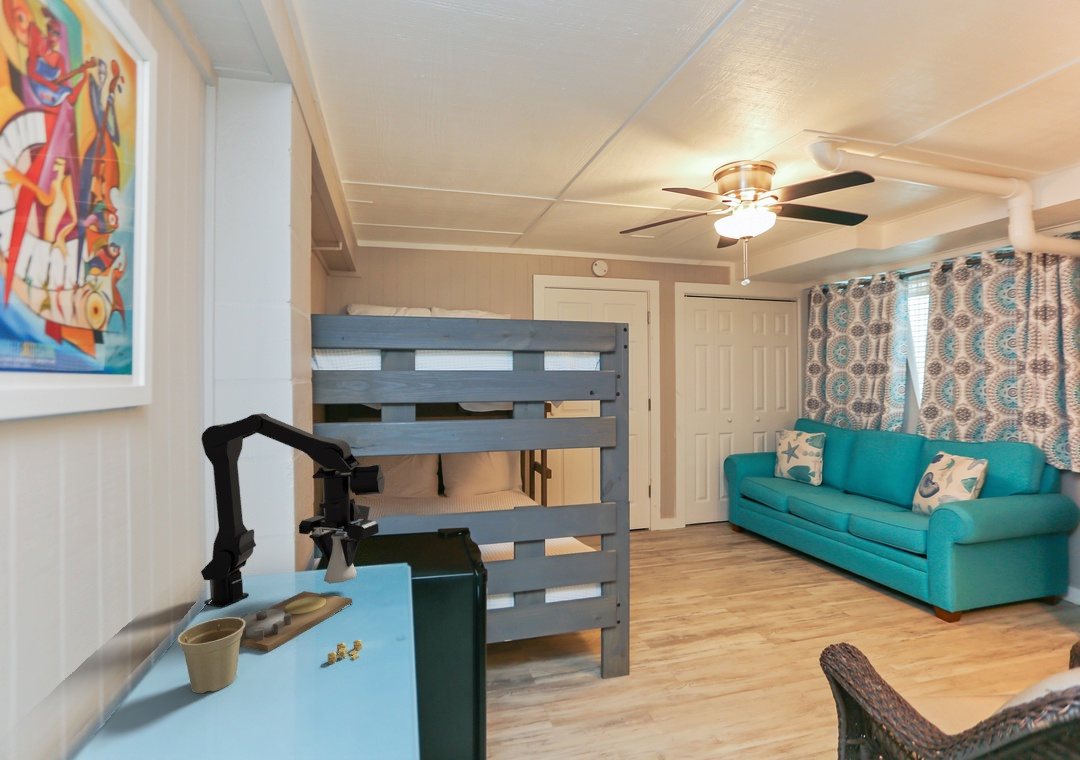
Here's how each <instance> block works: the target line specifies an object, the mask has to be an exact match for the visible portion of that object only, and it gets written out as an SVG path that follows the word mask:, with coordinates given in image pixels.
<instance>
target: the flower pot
mask: <svg viewBox="0 0 1080 760" xmlns="http://www.w3.org/2000/svg"><path fill="white" fill-rule="evenodd" d="M244 627H245V621H244V620H243V619H241V618H240V617H233V616H232V617H231V616H230V617H229V616H228V617H220V618H215V619H209V620H206V621H203V622H200V623H198V624H194V625H193V626H190V627H188V628H187V629H185V630H184V631H181V633H180V634H179V635H178V636H177V639H176V641H177V643H178V644H179V645H180V648H181V651H182V652H183V654H184V659H185V663H186V669H187V673H188V677H189V681H190V687H191V690H192V692H193V693H196V694H205V693H206V692H217V691H220V690H222V689H223V688H226V687H228V686H229V685H231V684H232V683H233V682H234V681H235V678H236V677H237V673H238V662H239V653H240V646H239V645H240V637H241V636H242V632H243V629H244Z"/></svg>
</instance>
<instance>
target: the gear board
mask: <svg viewBox="0 0 1080 760" xmlns="http://www.w3.org/2000/svg"><path fill="white" fill-rule="evenodd" d="M351 603H352V604H353V598H350V597H344V596H338V595H330V594H325V593H318V592H311V591H305V590H304V591H301V592H299V593H297V594H295V595H293V596H292V597H289V598H287V599H285V600H283V601H281V602H279V603H277V604H275V605H273V606H270V607H267V608H263V609H260V610H259V611H255V612H252V613H249V614H244V615H242V616H239V618H241V619H243V620H244V621H245V627H244V629H243V632H242V636H241V637H240V645H239V647H244V648H248V649H252V650H257V651H262V652H265V653H269V652H272V651H273V650H275V649H277V648H279V647H281V646H282V645H284V644H285V643H287V642H289V641H290V640H292V639H294V638H295V637H297V636H299V635H301V634H303V633H304V632H307V631H308V630H309V629H312V628H313V627H315V626H317V625H319V624H320V623H322V622H324V621H326V620H327V619H329V618H330V616H331V617H332V615H333V614H334V613H336V612H338V611H339V610H341V609H342V608H344V607H345V606H347V605H349V604H351ZM341 611H342V610H341ZM338 613H339V612H338ZM336 614H337V613H336ZM334 615H335V614H334ZM334 615H333V616H334Z"/></svg>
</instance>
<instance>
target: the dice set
mask: <svg viewBox="0 0 1080 760" xmlns="http://www.w3.org/2000/svg"><path fill="white" fill-rule="evenodd" d="M346 646H347V645H346V642H340V643H338V644H336V651H332V652H329V653H327V664H329V665H333V664H336V663H337V662H336V661H338V657H339V660H342V659H341V658H344V659H346V658H347V653H349V654H350V655H349V656H350V659H351V658H352V659H351V660H353V659H354V661H355V660H356V659H359V658H360V655H359V654H358V652H359V651H362V649H363V643H362V639H356V640H354V641H353V650H351V651H350V652H347V651H348V648H347V647H346ZM354 650H355V651H354ZM338 653H339V654H338ZM351 655H353V656H351ZM345 657H346V658H345ZM335 662H336V663H335Z"/></svg>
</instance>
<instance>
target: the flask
mask: <svg viewBox="0 0 1080 760" xmlns="http://www.w3.org/2000/svg"><path fill="white" fill-rule="evenodd" d="M345 537H347V532H336V534H332V536H331V538H332V539H333V548H332V554H331V558H330V561H329V564H328V566H327V568H326V572H325V574H324V578H323V581H324V582H326V583H328V584H337V583H338V584H339V583H344V582H348V581H351V580H353V579H356V577H357V575H358V572H357V570H356V568H355V566H354V563H352V565H351V566H349V567H348V566H347V564H346V561H345V558H344V553H343V549H342V545H341V541H340V539H342V538H345Z"/></svg>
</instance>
